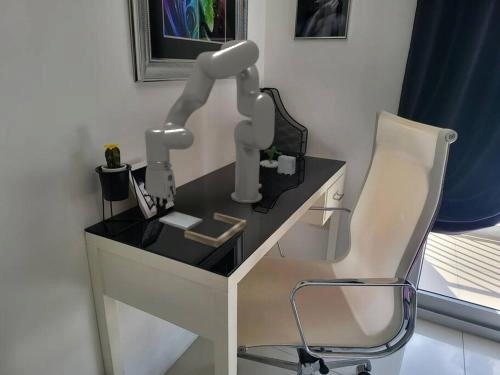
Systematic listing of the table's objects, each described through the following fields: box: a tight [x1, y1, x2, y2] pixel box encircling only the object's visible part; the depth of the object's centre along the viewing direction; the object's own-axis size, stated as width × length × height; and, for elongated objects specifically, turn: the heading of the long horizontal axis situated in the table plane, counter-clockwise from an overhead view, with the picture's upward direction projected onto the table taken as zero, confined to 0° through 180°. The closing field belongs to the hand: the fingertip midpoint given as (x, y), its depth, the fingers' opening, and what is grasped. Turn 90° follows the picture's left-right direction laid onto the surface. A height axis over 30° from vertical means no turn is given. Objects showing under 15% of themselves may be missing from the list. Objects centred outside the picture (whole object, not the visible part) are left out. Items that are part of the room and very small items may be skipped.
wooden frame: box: [184, 212, 247, 248], centre depth 111 cm, size 17×12×2 cm
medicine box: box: [277, 154, 296, 176], centre depth 175 cm, size 8×4×9 cm, turn 58°
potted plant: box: [259, 145, 284, 168], centre depth 190 cm, size 12×12×10 cm
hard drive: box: [158, 211, 204, 231], centre depth 118 cm, size 2×8×12 cm
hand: (161, 214), depth 122 cm, fingers closed
